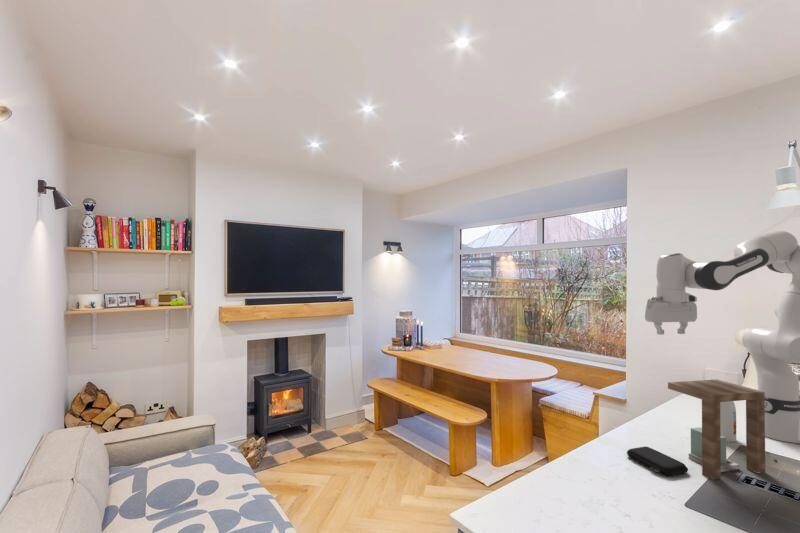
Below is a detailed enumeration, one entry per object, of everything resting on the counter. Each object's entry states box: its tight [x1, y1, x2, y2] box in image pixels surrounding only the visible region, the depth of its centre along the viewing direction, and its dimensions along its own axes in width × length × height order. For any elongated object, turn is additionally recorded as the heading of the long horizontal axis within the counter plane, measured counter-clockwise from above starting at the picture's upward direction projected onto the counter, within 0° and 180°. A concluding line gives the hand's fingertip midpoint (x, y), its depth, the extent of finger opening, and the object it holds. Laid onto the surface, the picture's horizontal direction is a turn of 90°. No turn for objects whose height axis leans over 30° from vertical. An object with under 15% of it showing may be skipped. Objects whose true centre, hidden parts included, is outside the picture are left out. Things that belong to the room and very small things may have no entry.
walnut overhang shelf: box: [667, 379, 766, 481], centre depth 119 cm, size 20×14×24 cm
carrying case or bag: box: [626, 446, 689, 478], centre depth 118 cm, size 11×3×15 cm
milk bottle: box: [720, 401, 737, 443], centre depth 139 cm, size 8×8×20 cm
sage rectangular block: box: [690, 426, 727, 465], centre depth 121 cm, size 4×8×9 cm, turn 13°
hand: (670, 334), depth 142 cm, fingers open, 8 cm apart
